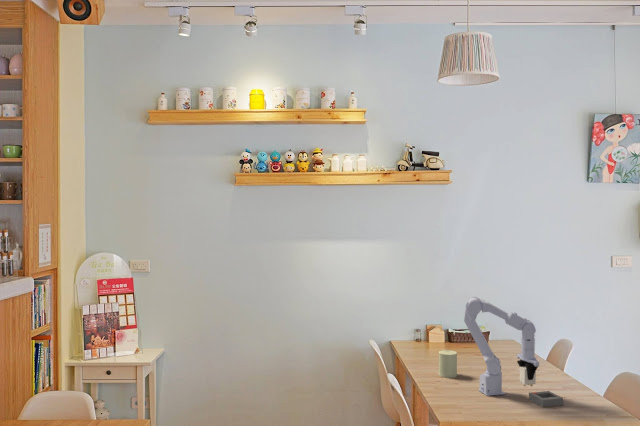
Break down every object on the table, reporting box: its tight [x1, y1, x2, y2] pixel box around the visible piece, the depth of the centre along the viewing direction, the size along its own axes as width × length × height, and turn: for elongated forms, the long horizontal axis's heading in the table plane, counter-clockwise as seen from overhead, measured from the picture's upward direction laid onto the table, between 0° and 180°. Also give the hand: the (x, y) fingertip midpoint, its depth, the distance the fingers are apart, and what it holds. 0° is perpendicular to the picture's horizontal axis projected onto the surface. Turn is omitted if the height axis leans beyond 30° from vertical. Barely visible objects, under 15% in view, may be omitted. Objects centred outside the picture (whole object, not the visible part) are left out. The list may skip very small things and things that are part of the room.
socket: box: [528, 390, 564, 408], centre depth 259 cm, size 10×10×3 cm
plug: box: [519, 366, 537, 387], centre depth 269 cm, size 4×6×8 cm
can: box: [438, 349, 458, 379], centre depth 300 cm, size 9×9×12 cm
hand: (527, 378), depth 269 cm, fingers closed on plug, 4 cm apart
